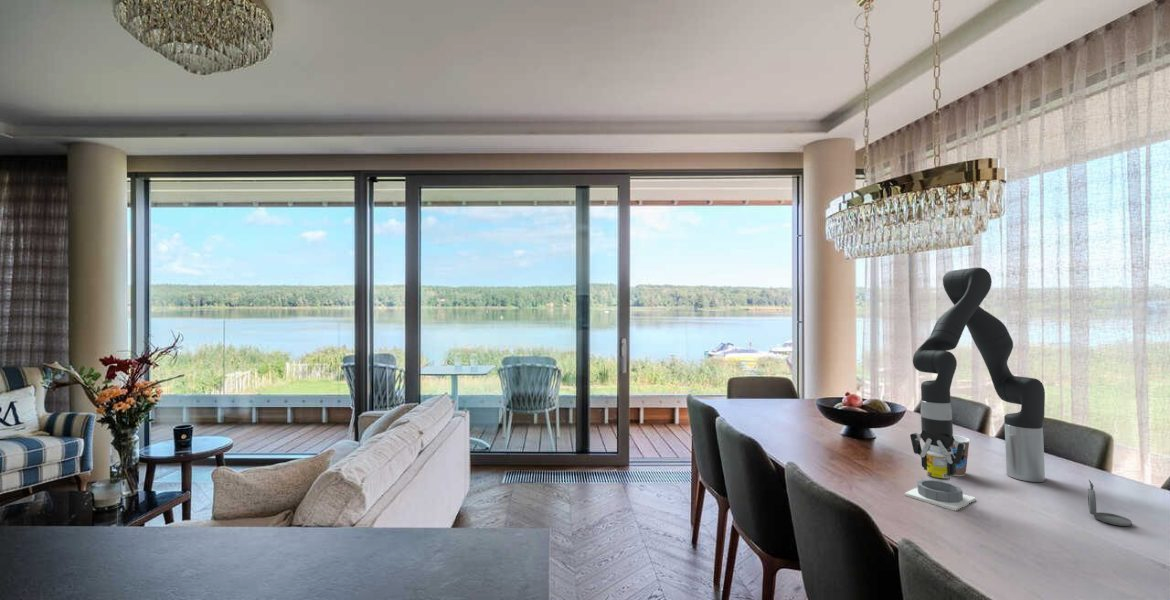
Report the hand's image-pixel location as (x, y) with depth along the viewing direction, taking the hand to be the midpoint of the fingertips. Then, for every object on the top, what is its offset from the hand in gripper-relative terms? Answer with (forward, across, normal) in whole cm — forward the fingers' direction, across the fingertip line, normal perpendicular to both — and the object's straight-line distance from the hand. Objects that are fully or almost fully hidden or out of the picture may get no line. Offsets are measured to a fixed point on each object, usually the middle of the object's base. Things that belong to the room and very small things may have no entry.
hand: (938, 472), depth 138 cm
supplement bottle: (+2, 0, 0) cm, 2 cm away
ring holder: (+8, 0, 0) cm, 8 cm away
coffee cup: (+8, +7, -27) cm, 29 cm away
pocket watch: (+8, -30, -19) cm, 36 cm away
